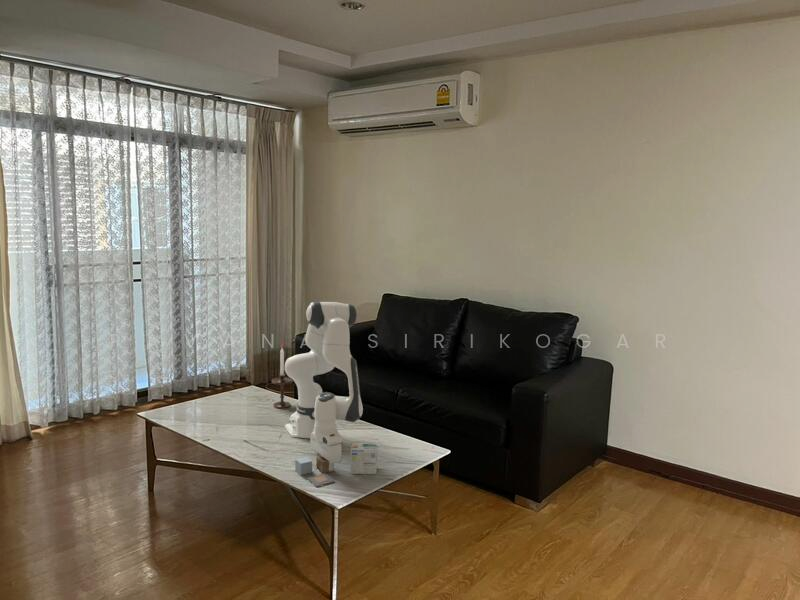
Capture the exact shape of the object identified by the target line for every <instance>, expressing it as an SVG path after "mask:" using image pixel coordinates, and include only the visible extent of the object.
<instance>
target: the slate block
mask: <svg viewBox="0 0 800 600" xmlns="http://www.w3.org/2000/svg"><path fill="white" fill-rule="evenodd" d="M294 465H295V467H294V471H295V472H296V473H297V474H298V473H299V474H298V475H299V476H304V475H303V474H305V475H307V474H306V473H309V474H311V473H310V472H312V473H313V460H312V459H310V458H309V457H308V456H303V457H300V458H296V459H294Z"/></svg>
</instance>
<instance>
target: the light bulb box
mask: <svg viewBox="0 0 800 600" xmlns="http://www.w3.org/2000/svg"><path fill="white" fill-rule="evenodd" d="M377 469H378V442H377V443H376V442H357V443H356V442H351V446H350V474H351V475H354V474H355V475H357V474H359V475H377V472H378V471H377Z"/></svg>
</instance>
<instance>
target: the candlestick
mask: <svg viewBox="0 0 800 600" xmlns="http://www.w3.org/2000/svg"><path fill="white" fill-rule="evenodd" d="M283 347H284V342H282V343H281V350H279V351H280V352H279V355H280V358H279V360H280V361H279V362H280V364H279V365H280V366H279V368H280V370H279V371H280V372H279V374H278V377H275V378H272V379H271V384H273V385H277V386H278V385H280V391H279V395H280V396H279V398H280V401H277V402H274V403H273V408H274V409H280V410H281V409H283V410H284V409H289V408H290V407H291V405H292V404H291V403H290V402H289V401H285V400H284V398H285V396H284V395H285V393H286V392H285V391H284V386H285V385H289V384H292V383H293V379H292V378H290V377H289V376H288V377H287V376H286V375H287V374H286V373H285V350H284V348H283Z"/></svg>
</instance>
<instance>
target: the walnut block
mask: <svg viewBox="0 0 800 600" xmlns="http://www.w3.org/2000/svg"><path fill="white" fill-rule="evenodd" d="M329 464H330V463H329V461H328V460H327V459H325V458H324V457H323V456H321V457H316V470H317V469H318V470H319V471H318V470H317V471H318V472H319V473H321V474H322V473H323V474H324V473H326V472H327V473H331V472H333V471H334V469H333V470H332V471H329V470H328V466H329ZM327 473H326V474H327Z"/></svg>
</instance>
